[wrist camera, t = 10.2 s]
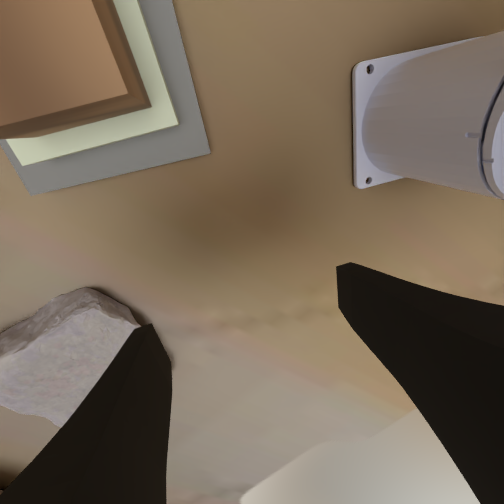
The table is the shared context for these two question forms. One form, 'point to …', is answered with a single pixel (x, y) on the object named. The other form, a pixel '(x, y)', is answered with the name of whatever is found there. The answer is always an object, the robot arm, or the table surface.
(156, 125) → the sage block
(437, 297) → the robot arm
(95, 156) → the grey square slab
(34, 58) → the walnut cube
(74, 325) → the stone block
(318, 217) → the table surface
